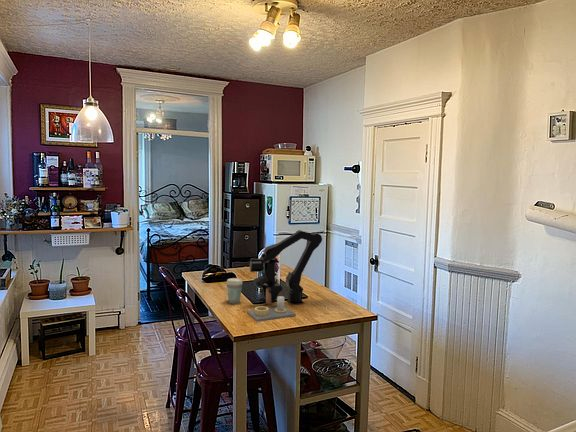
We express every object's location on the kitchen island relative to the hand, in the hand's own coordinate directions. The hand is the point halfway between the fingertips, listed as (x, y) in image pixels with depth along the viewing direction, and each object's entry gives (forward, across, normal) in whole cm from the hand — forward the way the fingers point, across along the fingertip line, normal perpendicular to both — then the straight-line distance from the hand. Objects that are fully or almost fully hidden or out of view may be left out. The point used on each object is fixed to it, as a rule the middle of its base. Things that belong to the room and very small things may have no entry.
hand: (269, 300), depth 226 cm
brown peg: (+2, 0, 0) cm, 2 cm away
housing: (+2, +16, -6) cm, 17 cm away
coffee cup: (+2, -9, -16) cm, 18 cm away
